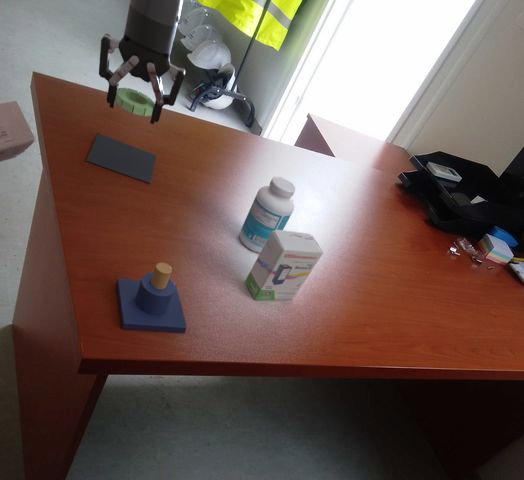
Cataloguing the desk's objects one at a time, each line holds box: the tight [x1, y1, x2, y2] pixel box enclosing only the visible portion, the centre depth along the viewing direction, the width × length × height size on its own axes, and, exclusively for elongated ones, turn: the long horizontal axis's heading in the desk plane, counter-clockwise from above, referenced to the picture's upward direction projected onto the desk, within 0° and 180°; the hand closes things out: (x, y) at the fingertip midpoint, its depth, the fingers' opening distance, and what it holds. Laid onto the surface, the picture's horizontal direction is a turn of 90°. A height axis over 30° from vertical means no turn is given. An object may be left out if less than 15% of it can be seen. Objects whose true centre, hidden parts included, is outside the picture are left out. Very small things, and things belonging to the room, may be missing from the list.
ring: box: [115, 87, 155, 117], centre depth 81 cm, size 7×7×1 cm
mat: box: [85, 133, 157, 185], centre depth 91 cm, size 12×12×1 cm
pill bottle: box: [239, 176, 296, 254], centre depth 87 cm, size 8×7×14 cm
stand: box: [116, 262, 187, 334], centre depth 65 cm, size 9×9×8 cm
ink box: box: [244, 229, 324, 301], centre depth 78 cm, size 9×5×12 cm, turn 118°
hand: (132, 114), depth 82 cm, fingers closed on ring, 6 cm apart
